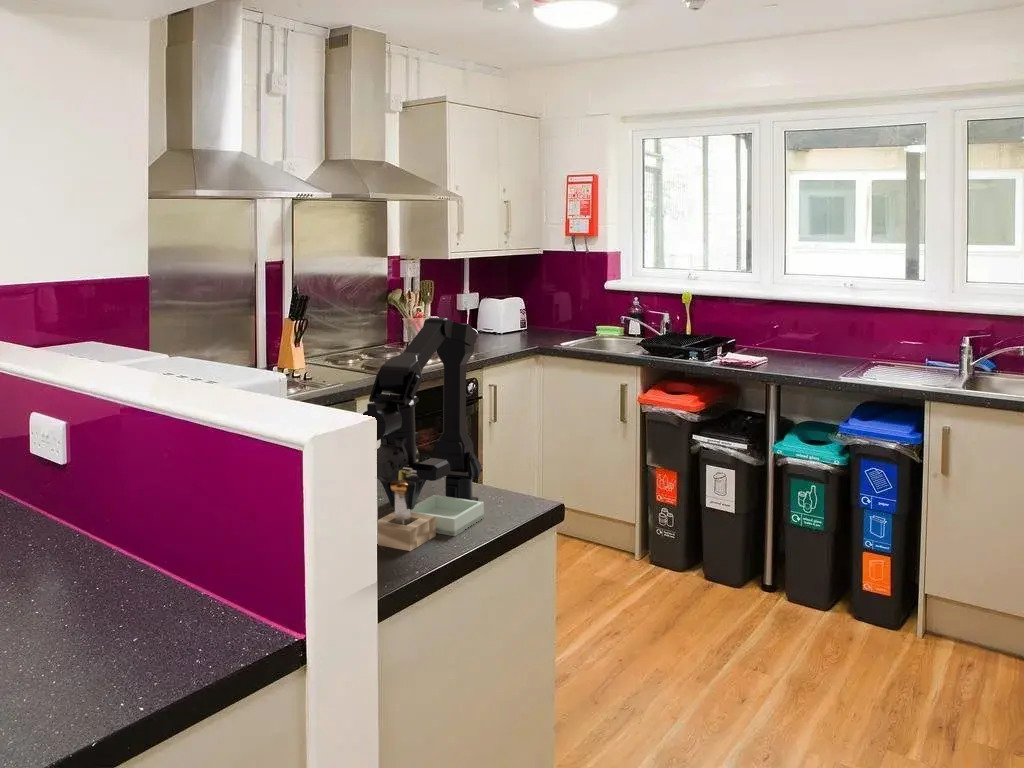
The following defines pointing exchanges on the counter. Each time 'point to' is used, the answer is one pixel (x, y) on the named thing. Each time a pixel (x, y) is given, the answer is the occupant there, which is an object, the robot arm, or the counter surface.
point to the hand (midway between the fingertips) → (402, 507)
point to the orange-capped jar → (401, 502)
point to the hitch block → (406, 531)
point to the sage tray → (451, 513)
